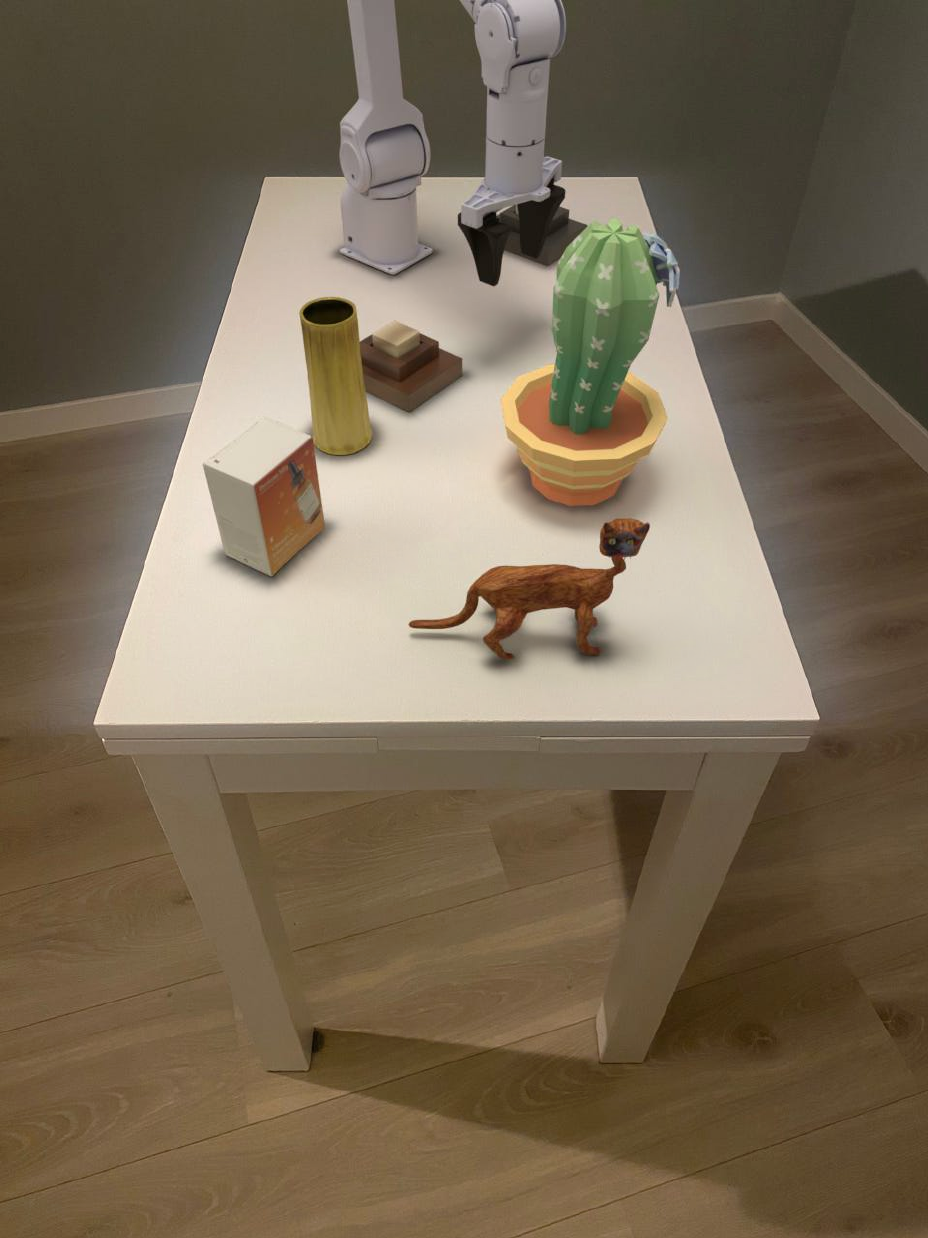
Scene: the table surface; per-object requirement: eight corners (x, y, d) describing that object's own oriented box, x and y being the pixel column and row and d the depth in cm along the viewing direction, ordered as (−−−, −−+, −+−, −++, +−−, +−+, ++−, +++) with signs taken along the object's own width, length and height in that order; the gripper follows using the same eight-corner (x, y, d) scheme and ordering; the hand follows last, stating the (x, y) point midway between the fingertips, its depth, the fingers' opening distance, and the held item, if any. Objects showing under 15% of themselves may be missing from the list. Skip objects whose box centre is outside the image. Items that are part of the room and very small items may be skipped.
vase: (383, 428, 97) (373, 302, 86) (354, 462, 93) (340, 334, 82) (332, 414, 98) (316, 288, 88) (301, 446, 95) (281, 319, 84)
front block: (334, 375, 103) (330, 343, 100) (388, 341, 108) (386, 309, 105) (409, 413, 99) (407, 380, 96) (462, 375, 103) (462, 343, 100)
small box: (271, 579, 82) (252, 487, 74) (223, 555, 84) (199, 463, 76) (327, 527, 87) (314, 435, 79) (280, 505, 89) (263, 413, 81)
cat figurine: (406, 664, 76) (398, 541, 66) (411, 605, 80) (404, 481, 70) (628, 668, 76) (655, 545, 65) (620, 608, 80) (644, 484, 70)
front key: (373, 348, 100) (371, 333, 99) (395, 334, 102) (394, 319, 101) (398, 360, 99) (397, 345, 98) (420, 345, 101) (419, 331, 100)
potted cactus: (650, 538, 86) (703, 285, 67) (484, 518, 88) (491, 265, 69) (657, 437, 96) (705, 192, 77) (509, 420, 98) (521, 177, 79)
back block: (479, 240, 124) (480, 211, 121) (520, 217, 129) (521, 187, 126) (547, 266, 120) (549, 236, 117) (586, 240, 125) (589, 211, 122)
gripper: (504, 170, 85) (499, 307, 95) (591, 122, 93) (578, 254, 103) (443, 150, 88) (445, 285, 98) (533, 105, 95) (526, 235, 106)
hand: (509, 268), depth 101 cm, fingers open, 7 cm apart
